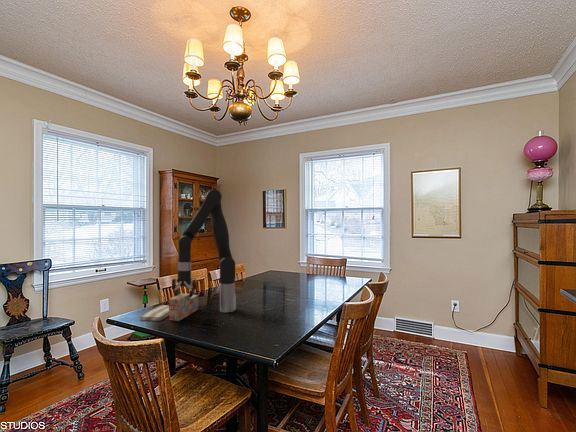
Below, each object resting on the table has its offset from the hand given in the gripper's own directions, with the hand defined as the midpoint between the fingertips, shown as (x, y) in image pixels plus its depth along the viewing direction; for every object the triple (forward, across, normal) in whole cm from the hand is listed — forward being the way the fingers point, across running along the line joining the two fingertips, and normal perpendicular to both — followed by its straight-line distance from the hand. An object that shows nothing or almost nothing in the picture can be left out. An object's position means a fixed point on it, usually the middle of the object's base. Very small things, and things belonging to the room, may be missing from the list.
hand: (184, 296), depth 176 cm
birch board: (+11, +14, 0) cm, 18 cm away
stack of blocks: (+11, 0, 0) cm, 11 cm away
